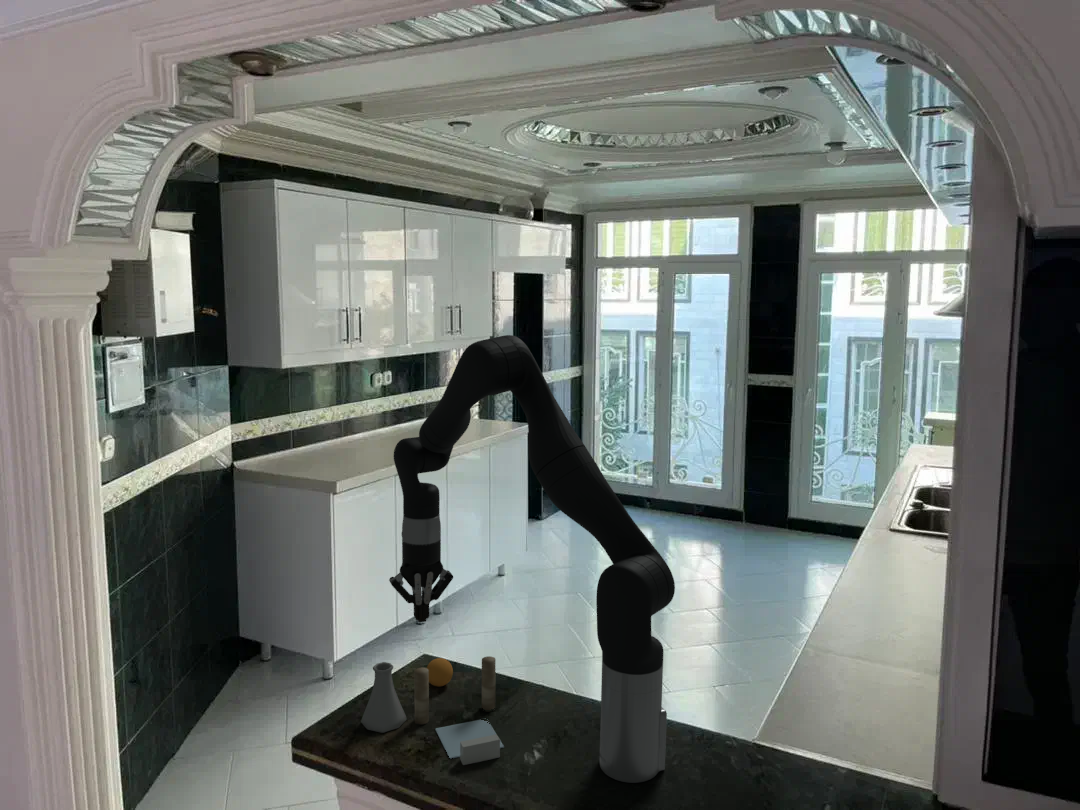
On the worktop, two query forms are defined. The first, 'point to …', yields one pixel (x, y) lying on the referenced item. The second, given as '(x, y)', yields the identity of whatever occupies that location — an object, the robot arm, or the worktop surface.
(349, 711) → the worktop surface
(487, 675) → the inner post
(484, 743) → the block
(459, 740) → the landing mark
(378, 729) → the flask
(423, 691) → the outer post
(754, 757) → the worktop surface
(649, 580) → the robot arm
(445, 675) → the ball
